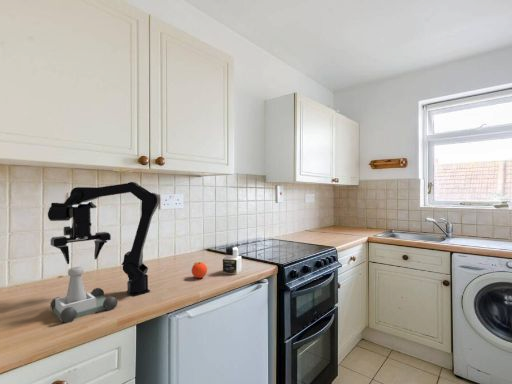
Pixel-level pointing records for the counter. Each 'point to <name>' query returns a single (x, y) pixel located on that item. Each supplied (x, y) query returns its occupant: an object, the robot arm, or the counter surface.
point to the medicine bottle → (232, 261)
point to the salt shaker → (75, 286)
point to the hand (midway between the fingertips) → (82, 261)
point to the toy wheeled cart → (82, 305)
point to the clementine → (199, 270)
